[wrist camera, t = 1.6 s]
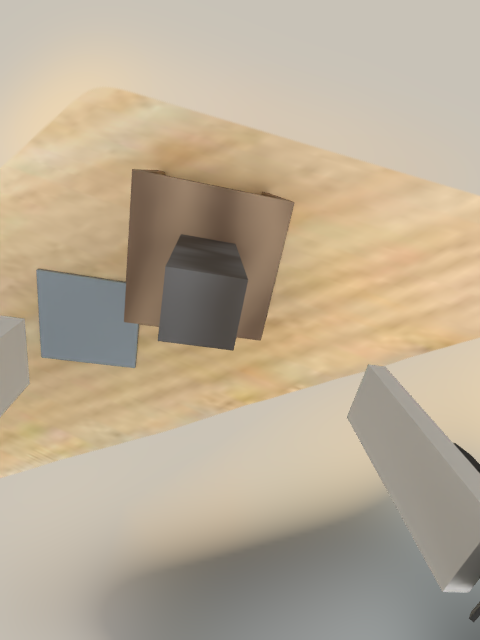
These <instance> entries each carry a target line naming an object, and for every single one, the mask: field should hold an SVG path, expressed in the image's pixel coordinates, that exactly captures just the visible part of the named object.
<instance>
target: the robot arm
mask: <svg viewBox="0 0 480 640" xmlns="http://www.w3.org/2000/svg"><path fill="white" fill-rule="evenodd" d="M29 383H30V382H29V369H28V356H27V343H26V330H25V319H23V318H15V317H8V316H0V417H1V416H2V415H3V413H4V412H5V411H6V410H7V409H8V408H9V406H10V405H11V404H12V403H13V402H14V401H15V400H16V398H17V397H18V396H19V395H20V394H21V393H22V392H23V390H24V389H25V388H26V387H27V386H28V385H29ZM347 418H348V420H349V422H350V424H351V425H352V427H353V429H354V431H355V433H356V435H357V436H358V438H359V440H360V442H361V444H362V445H363V447H364V449H365V451H366V453H367V455H368V456H369V458H370V460H371V462H372V464H373V466H374V467H375V469H376V471H377V473H378V475H379V477H380V478H381V480H382V482H383V484H384V486H385V488H386V489H387V491H388V493H389V495H390V497H391V498H392V500H393V502H394V504H395V506H396V508H397V509H398V511H399V513H400V515H401V517H402V519H403V520H404V522H405V524H406V526H407V528H408V530H409V531H410V533H411V535H412V537H413V539H414V540H415V542H416V544H417V546H418V548H419V550H420V551H421V553H422V555H423V557H424V559H425V560H426V562H427V564H428V566H429V568H430V570H431V572H432V573H433V575H434V577H435V579H436V581H437V582H438V584H439V586H440V588H441V590H442V591H443V592H469V591H470V590H471V588H472V587H473V586H474V585H475V584H476V582H477V581H478V580H479V579H480V464H479V463H478V462H477V461H476V460H475V459H474V458H473V457H472V456H471V455H470V454H469V453H467V452H466V451H465V450H463V449H462V448H461V447H459V446H458V445H457V444H456V443H452V442H451V440H450V439H449V438H448V437H447V436H446V435H445V434H444V432H443V431H442V430H441V429H440V428H439V427H438V426H437V425H436V423H435V422H434V421H433V420H432V419H431V418H430V417H429V416H428V414H426V412H425V411H424V410H423V409H422V408H421V407H420V405H419V404H418V403H417V402H416V401H415V400H414V399H413V398H412V396H411V395H410V394H409V393H408V392H407V391H406V390H405V388H404V387H403V386H402V385H401V384H400V383H399V382H398V381H397V379H396V378H395V377H394V376H393V375H392V374H391V373H390V371H389V370H388V369H387V368H386V367H384V366H376V365H369V364H368V366H367V369H366V371H365V374H364V376H363V379H362V381H361V384H360V386H359V389H358V391H357V394H356V396H355V398H354V401H353V403H352V406H351V408H350V411H349V413H348V416H347ZM479 616H480V602H479V604H477V606H476V607H475V608H474V609H473V610H472V612H471V614H470V617H469V619H470V620H472V621H473V622H474V621H475V620H476V619H477V618H478V617H479Z"/></svg>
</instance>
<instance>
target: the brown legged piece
mask: <svg viewBox="0 0 480 640" xmlns="http://www.w3.org/2000/svg"><path fill="white" fill-rule="evenodd" d="M164 174H165V172H163V171H158V170H136V169H132V185H131V203H130V221H129V239H128V257H127V274H126V292H125V310H124V322H127V323H134V324H141V325H149V326H156V327H159V334H158V341H163V342H171V343H179V344H187V345H194V346H202V347H210V348H218V349H226V350H234V345H235V341H236V337H238V338H246V339H253V340H261V337H262V333H263V329H264V325H265V321H266V317H267V313H268V309H269V305H270V300H271V296H272V292H273V288H274V284H275V280H276V276H277V272H278V268H279V264H280V260H281V255H282V251H283V247H284V243H285V239H286V235H287V231H288V227H289V223H290V219H291V215H292V210H293V206H294V202H292V201H289V200H286V199H283V198H281V197H278V196H275V195H272V194H269V193H265V192H262V195H258V194H253V193H248V192H243V191H238V190H233V189H228V188H223V187H219V186H214V185H209V184H204V183H199V182H194V181H189V180H184V179H179V178H175V177H170V176H165V175H164Z"/></svg>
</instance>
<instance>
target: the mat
mask: <svg viewBox="0 0 480 640" xmlns="http://www.w3.org/2000/svg"><path fill="white" fill-rule="evenodd" d="M36 271H37V289H38V306H39V324H40V342H41V357H42V358H51V359H60V360H69V361H77V362H86V363H95V364H104V365H112V366H121V367H130V368H135V367H136V355H137V342H138V329H139V324H134V323H127V322H124V310H125V292H126V282H122V281H115V280H109V279H102V278H96V277H89V276H82V275H76V274H69V273H63V272H56V271H50V270H43V269H37V270H36Z"/></svg>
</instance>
